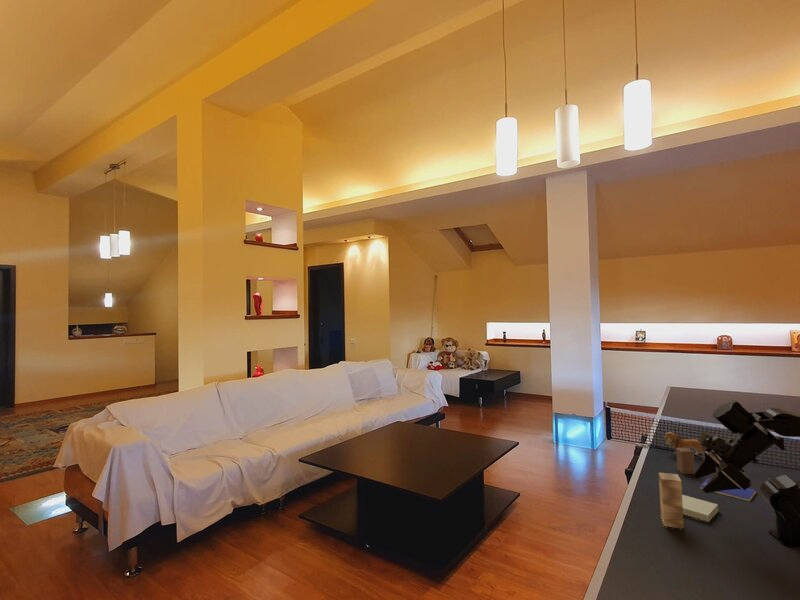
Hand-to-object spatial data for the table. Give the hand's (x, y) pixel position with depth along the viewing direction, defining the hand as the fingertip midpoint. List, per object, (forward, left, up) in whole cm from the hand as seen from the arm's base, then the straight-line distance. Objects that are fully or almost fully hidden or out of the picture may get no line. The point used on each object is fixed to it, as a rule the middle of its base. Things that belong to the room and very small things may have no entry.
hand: (699, 484), depth 113 cm
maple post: (+1, +7, -12) cm, 14 cm away
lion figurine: (+54, -19, -12) cm, 59 cm away
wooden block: (+38, -12, -12) cm, 42 cm away
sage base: (+9, -2, -12) cm, 16 cm away
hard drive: (+24, -18, -13) cm, 33 cm away
